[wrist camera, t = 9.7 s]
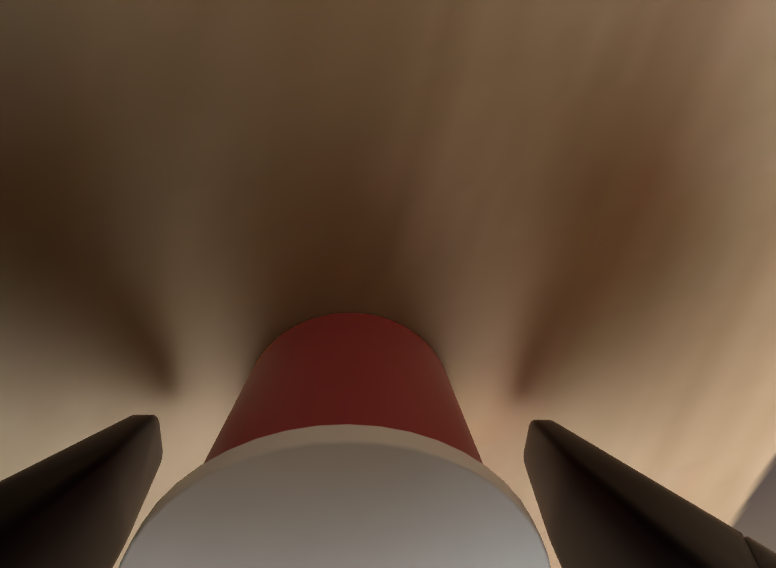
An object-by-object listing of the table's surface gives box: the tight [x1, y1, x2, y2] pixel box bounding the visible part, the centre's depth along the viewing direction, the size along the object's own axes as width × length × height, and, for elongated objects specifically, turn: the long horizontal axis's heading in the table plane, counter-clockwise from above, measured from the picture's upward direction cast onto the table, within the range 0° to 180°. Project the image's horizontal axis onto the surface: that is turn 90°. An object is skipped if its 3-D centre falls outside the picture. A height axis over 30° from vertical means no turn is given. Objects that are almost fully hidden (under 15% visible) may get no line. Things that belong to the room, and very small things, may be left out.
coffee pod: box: [119, 313, 550, 568], centre depth 7 cm, size 5×5×4 cm
